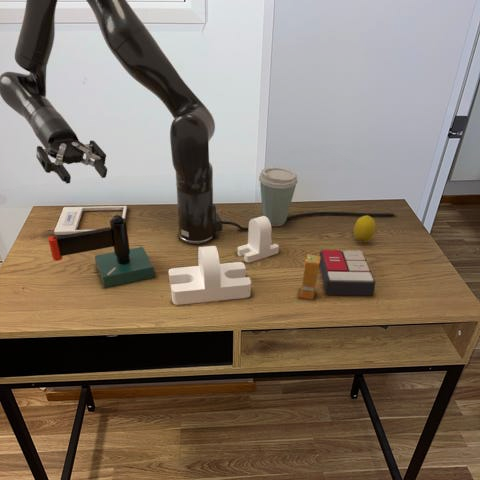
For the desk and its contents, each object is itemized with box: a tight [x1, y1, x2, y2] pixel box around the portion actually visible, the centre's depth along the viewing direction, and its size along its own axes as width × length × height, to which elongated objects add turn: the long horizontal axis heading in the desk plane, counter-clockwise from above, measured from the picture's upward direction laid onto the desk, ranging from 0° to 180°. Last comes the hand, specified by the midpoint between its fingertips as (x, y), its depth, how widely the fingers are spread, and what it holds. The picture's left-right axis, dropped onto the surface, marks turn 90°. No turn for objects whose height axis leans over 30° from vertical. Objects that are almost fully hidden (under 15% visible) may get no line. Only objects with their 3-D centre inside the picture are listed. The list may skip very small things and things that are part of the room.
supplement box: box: [299, 253, 321, 300], centre depth 113 cm, size 3×3×10 cm
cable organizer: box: [236, 215, 280, 264], centre depth 126 cm, size 5×10×10 cm, turn 122°
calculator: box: [318, 249, 376, 297], centre depth 120 cm, size 11×4×15 cm
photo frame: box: [53, 205, 128, 236], centre depth 140 cm, size 15×1×18 cm
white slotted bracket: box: [168, 245, 252, 306], centre depth 113 cm, size 10×18×11 cm, turn 102°
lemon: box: [353, 215, 377, 243], centre depth 133 cm, size 6×6×8 cm
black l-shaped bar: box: [47, 214, 131, 262], centre depth 113 cm, size 17×4×10 cm, turn 113°
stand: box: [94, 246, 155, 289], centre depth 120 cm, size 12×10×5 cm
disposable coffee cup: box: [258, 166, 298, 227], centre depth 139 cm, size 11×11×15 cm
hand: (87, 177), depth 109 cm, fingers open, 8 cm apart
